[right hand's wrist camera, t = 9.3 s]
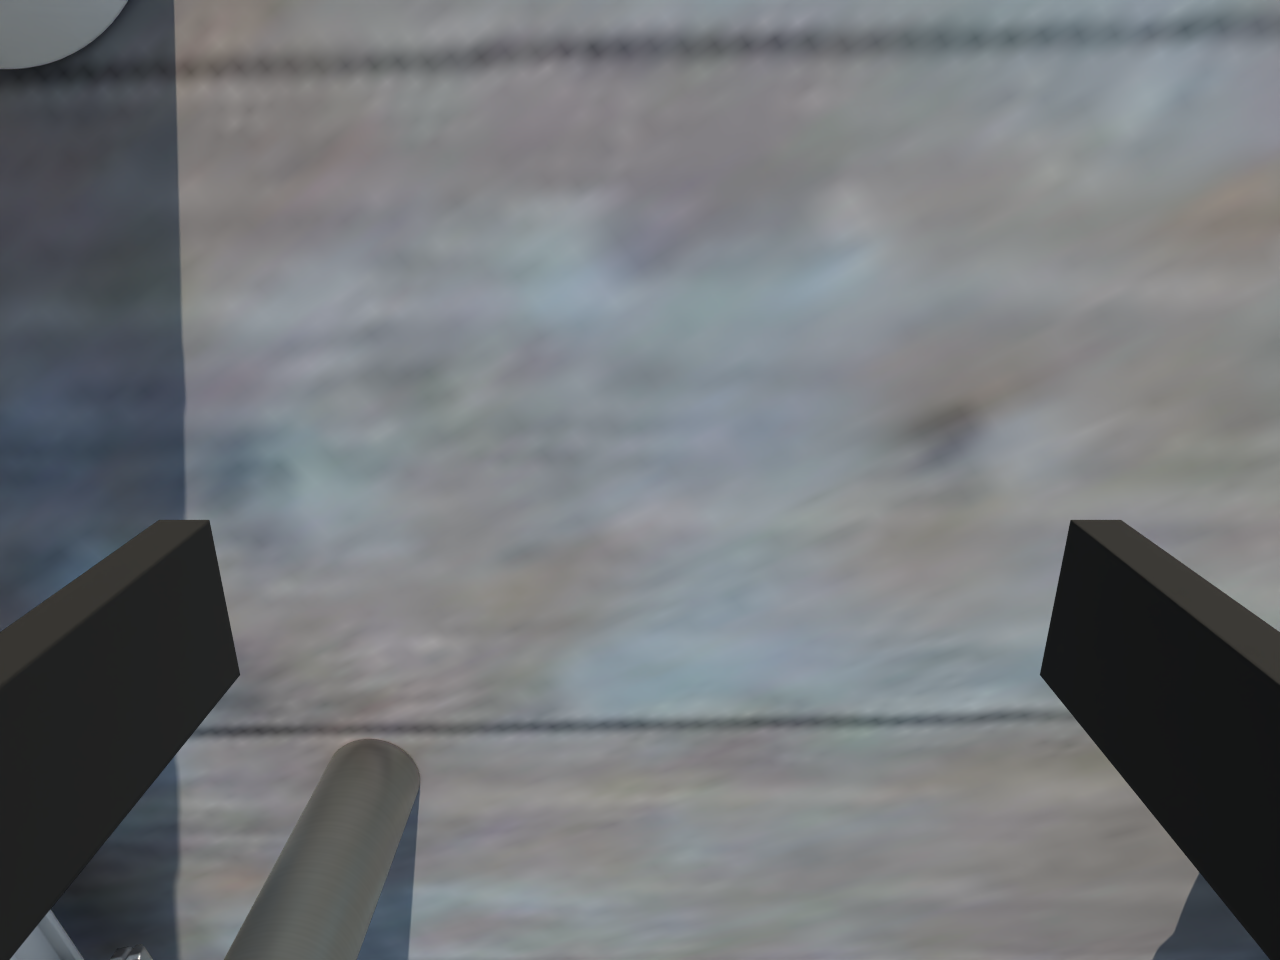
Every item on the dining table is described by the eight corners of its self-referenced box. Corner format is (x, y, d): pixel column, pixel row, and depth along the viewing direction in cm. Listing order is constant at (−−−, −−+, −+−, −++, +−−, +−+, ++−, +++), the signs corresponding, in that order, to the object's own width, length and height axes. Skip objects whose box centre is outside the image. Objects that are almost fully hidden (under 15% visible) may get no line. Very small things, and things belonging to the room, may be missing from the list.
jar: (311, 781, 46) (151, 1071, 31) (361, 722, 44) (219, 996, 29) (387, 827, 47) (269, 1128, 32) (438, 771, 45) (339, 1059, 30)
